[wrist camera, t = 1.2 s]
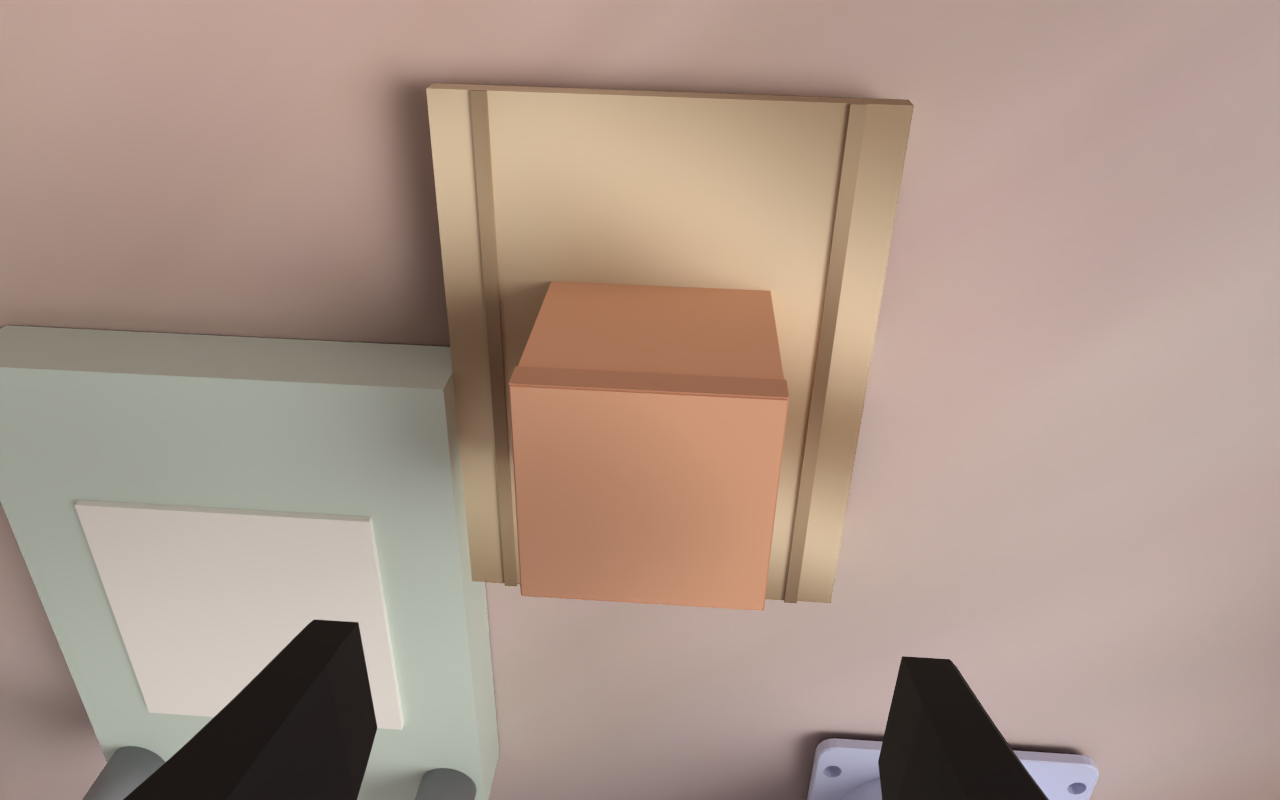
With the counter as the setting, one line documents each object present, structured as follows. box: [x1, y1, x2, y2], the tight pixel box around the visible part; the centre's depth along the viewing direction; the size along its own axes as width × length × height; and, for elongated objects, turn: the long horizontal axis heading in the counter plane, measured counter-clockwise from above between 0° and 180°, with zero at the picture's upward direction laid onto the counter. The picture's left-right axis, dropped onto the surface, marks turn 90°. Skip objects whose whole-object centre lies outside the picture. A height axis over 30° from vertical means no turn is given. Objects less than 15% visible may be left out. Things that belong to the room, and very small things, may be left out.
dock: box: [0, 325, 499, 800], centre depth 22 cm, size 14×11×5 cm
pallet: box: [426, 83, 914, 603], centre depth 20 cm, size 12×9×1 cm
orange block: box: [509, 281, 789, 611], centre depth 18 cm, size 5×5×4 cm
